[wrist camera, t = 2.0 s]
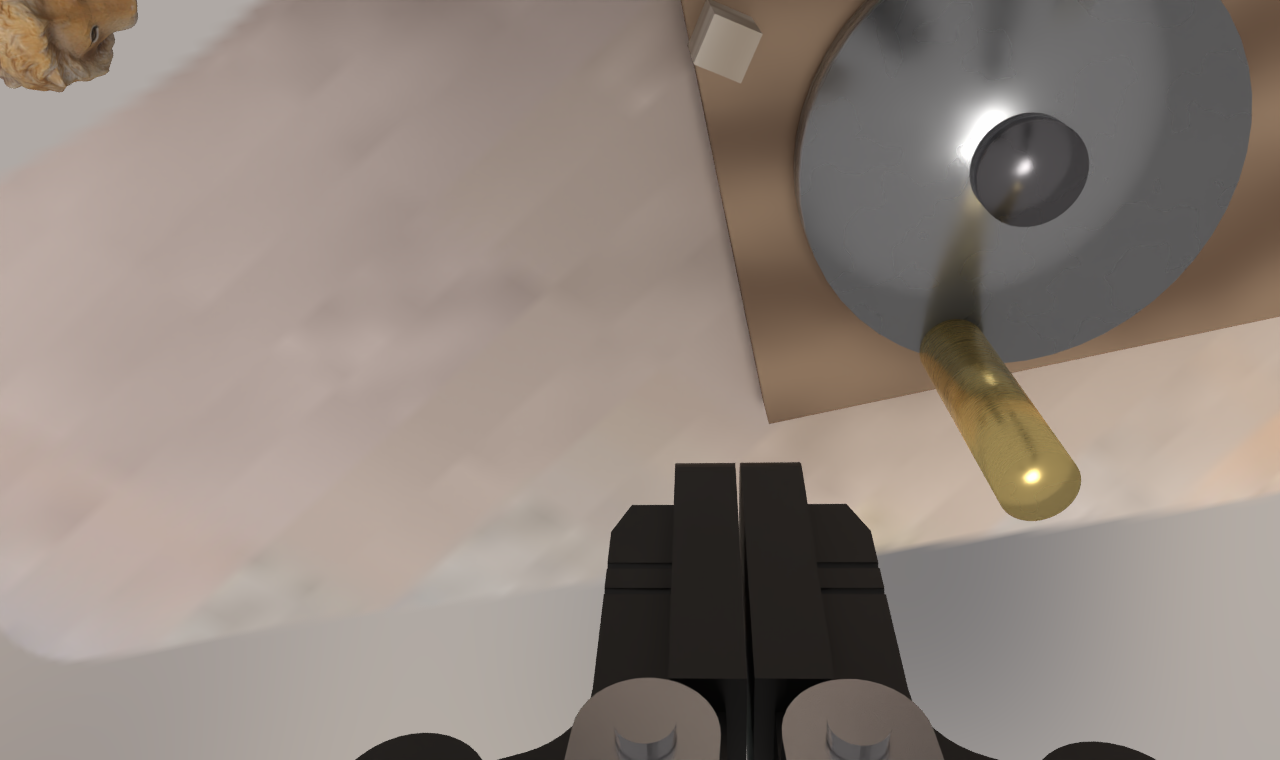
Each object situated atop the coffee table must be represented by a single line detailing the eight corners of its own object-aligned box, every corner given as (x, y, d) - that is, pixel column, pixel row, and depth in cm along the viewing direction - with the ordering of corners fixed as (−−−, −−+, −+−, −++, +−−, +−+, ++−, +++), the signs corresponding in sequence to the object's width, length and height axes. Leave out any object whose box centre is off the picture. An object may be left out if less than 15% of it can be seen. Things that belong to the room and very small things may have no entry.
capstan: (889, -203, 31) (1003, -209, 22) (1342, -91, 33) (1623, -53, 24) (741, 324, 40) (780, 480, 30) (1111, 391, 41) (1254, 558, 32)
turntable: (639, -184, 34) (642, -184, 29) (1288, -357, 32) (1397, -384, 27) (759, 399, 44) (776, 465, 39) (1255, 294, 42) (1330, 350, 38)
